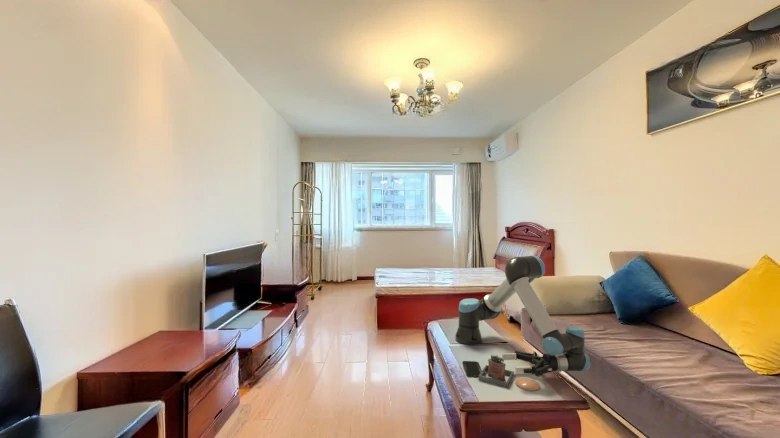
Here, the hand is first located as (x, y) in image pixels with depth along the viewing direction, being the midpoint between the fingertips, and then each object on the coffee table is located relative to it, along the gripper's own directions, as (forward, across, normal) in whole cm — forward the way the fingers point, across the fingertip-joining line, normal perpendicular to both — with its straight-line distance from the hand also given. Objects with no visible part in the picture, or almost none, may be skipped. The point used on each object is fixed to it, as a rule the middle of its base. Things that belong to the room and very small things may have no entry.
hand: (508, 363), depth 150 cm
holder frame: (+5, +1, -7) cm, 9 cm away
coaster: (-6, -6, -7) cm, 11 cm away
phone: (+14, +9, -8) cm, 18 cm away
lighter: (+5, +1, -7) cm, 9 cm away
